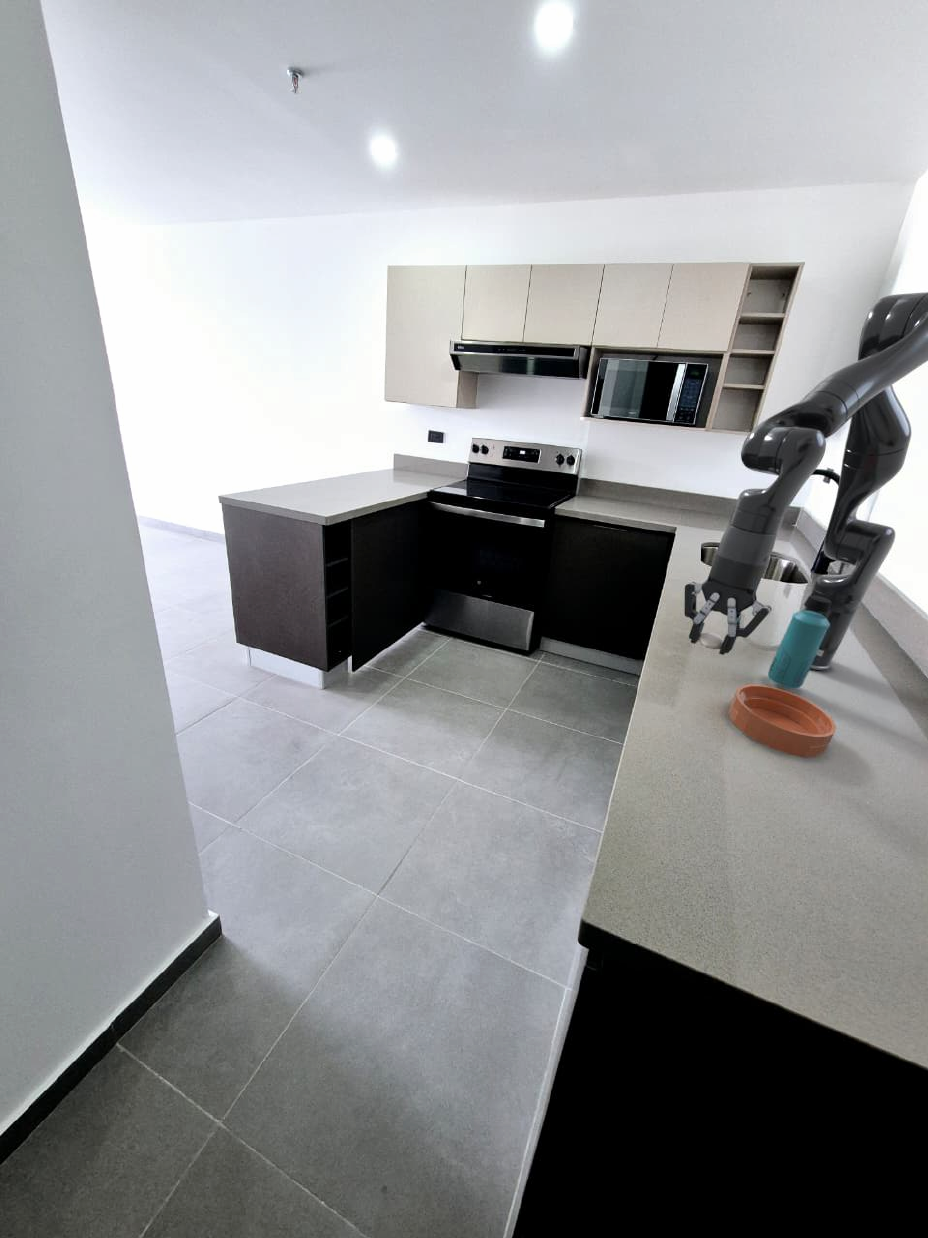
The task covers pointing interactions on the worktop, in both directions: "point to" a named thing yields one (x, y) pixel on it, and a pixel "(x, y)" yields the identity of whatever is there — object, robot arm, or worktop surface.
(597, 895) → the worktop surface
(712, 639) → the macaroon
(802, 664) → the beverage bottle
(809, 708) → the bowl
